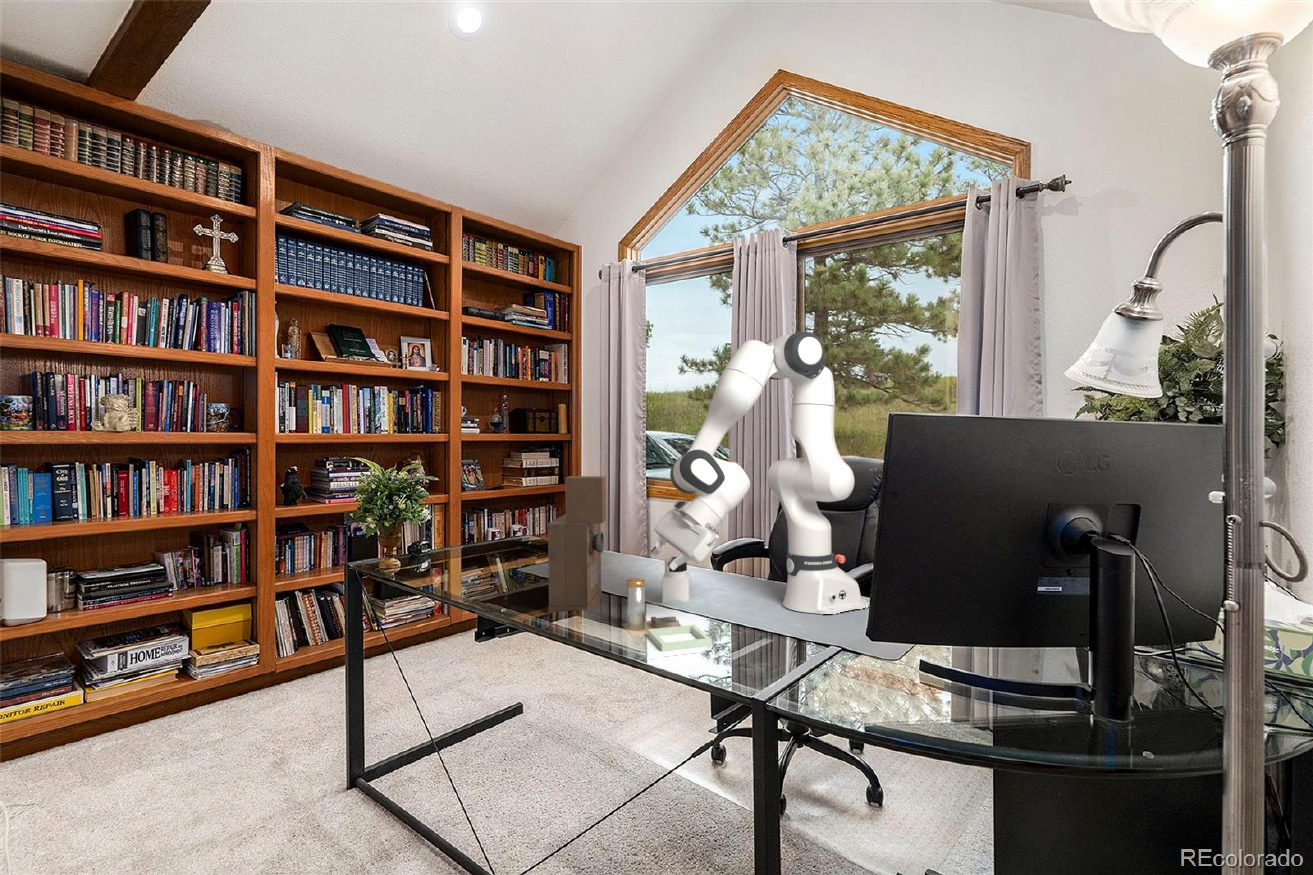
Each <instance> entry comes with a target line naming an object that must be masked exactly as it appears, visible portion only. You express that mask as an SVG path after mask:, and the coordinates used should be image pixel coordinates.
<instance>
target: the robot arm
mask: <svg viewBox="0 0 1313 875" xmlns="http://www.w3.org/2000/svg"><path fill="white" fill-rule="evenodd" d="M825 356H826V353H825V348H824V345H823V342H822V341H821V339H820V337H819V336H817V335H816V334H815V333H812V332H809V331H797V332H794V333H789V334H785V335H781V336H779V337H778V338H775V339H773V340H768V341H767V342H763V341H761V340H758V339H749V340H746V341H744V342H742V343H741V344H740V346H739V347H738V348H737V350H735V352H734V354H733V355H732V356H731V358H730V359H729V361H728V362H727V364H726V366H725V368H724V370H723V371H722V373H721V375H720V378H719V379H718V382H717V384H716V387H715V390H714V393H713V396H712V400H711V403H710V407H709V409H708V412H707V415H706V418H705V419H704V422H703V424H702V426H701V427H700V429H699V431H698V433H697V435H696V436H695V438H694V440H693V442H692V444H691V446H690V447H689V449H688V450H687V451H686V452H685V453H684V454H683V455H681V456H680V457H679V458H677V459H676V460H675V461H674V462H673V464H672V465H671V467H670V472H669V474H670V475H669V477H670V478H669V479H670V481H671V483H672V486H674V488H675V489H676V490H677V491H679V492H680V493H682V494H687V495H694V494H696V496H695V497H694V498H693V499H692V500H677V501H675V503H674V504H673V506H672V509H670V510H668V511H667V512H666V513H665V514H664V515H663V516H662V517H661V519H659V521H658V522H657V523H656V524H655V527H654V532H655V533H656V534H657V535H658V537H656V540H655V542H654V544H653V546H652V547H651V548H650V550H649V552H650V553H651V554H652V556H655V557H657V556H658V555H660V554H661V552H662V551H661V549H662V547H663V546H664V545H666V544H669V545H670V546H672V547H673V548H675V549H676V550H678V552H679V554H678V556H676V557H677V558H675V559H674V560H673V559H671V560H670V561H669V562H668V563H667V565H668V566H669V567H670V568H671V569H672V570H675V569H676V568H677V567H678V566H679V565H681V564H683V563H686V562H688V561H689V560H691V561H692V562H694V563H695V564H699V563H701V562H702V561H704V559H705V558H706V557H707V556H708V555H709V554H710V552H711V551H712V549H713V547H714V546H715V545H716V541H718V539H719V532H720V531H719V529H718V527H719V526H720V525H721V523H723V521H724V520H725V519H724V518H725V517H726V516H727V514H728V513H731V512H732V511H733V510H734V509H735V508H736V507H737V506H738V505H740V503H741V502H742V500H743V499H744V498H745V496H746V495H747V493H748V492H749V490H750V487H751V480H750V477H749V474H748V473H747V471H746V470H745V469H744V468H743V466H741V465H740V464H739V463H738V462H735V461H727V460H724V459H721V458H718V457H716V456H714V455H715V453H716V451H717V449H718V447H719V446H720V444H721V443H722V440H723V438H724V436H726V433H727V432H728V431H729V430H730V429H731V428H732V426H734V424H736V423H737V422H738V421H739V420H740V419H742V418H743V417H744V416H746V414H748V412H750V410H751V409H752V407H753V406H754V405H755V403H756V402H757V401H758V400H759V397H760V396H761V394H762V392H763V390H764V388H765V386H766V384H767V382H768V380H769V379H770V380H782V379H783V380H784V379H789V382H790V383H791V386H792V387H791V388H792V392H793V393H792V398H791V399H792V401H791V415H790V416H791V417H790V418H791V419H790V435H791V437H792V438H793V439H794V441H796V442H798V443H799V446H800V447H801V450H802V453H803V457H801V458H800V457H789V458H784V459H779V460H776V461H774V462H773V463H772V464H771V465H770V467H769V469H768V471H767V475H766V476H767V477H766V478H767V485H768V487H769V489H770V491H772V492H773V494H774V495H775V496H776V497H777V499H778V501H779V503H781V504H780V505H781V506H782V510H783V512H784V515H785V519H786V523H787V536H788V538H787V540H788V541H787V543H788V544H787V545H788V550H787V552H786V571H787V582H786V587H785V588H786V589H785V594H784V598H783V600H782V601H783V602H782V606H783V607H784V608H786V609H789V610H791V611H792V610H793V611H796V612H800V613H810V614H817V615H823V614H833V615H837V613H838V614H841V613H840V612H843V611H848V610H852V609H860V610H864V609H863V608H865V607H866V608H865V609H869V608H868V605H869V604H870V602H869V601H868V600H867V599H865V598H863V597H862V595H861V591H860V587H859V586H860V585H859V584H858V582H857V581H856V579H854V578H853V577H851V576H850V575H849V574H848V573H847V572H845V571H844V570H842V569H841V568H840V567H839V566H838V563H840V564H844V563H845V562H846V556H844V555H841V554H835V553H833V552H832V526H831V523H830V520H829V519H827V517H826V516H825V515H824V514H822V512H821V511H820V509H819V507H818V504H817V502H823V503H831V502H833V503H834V502H839V501H843V500H844V501H845V500H846V499H847V498H849V497H850V495H852V494H851V493H853V490H854V487H855V476H854V475H855V474H854V472H853V470H852V468H851V466H850V465H849V464H847V463H846V462H845V460H844V459H843V457H842V456H841V454H840V452H839V449H838V447H837V443H836V438H835V410H836V409H835V408H836V407H835V405H836V404H835V403H836V402H835V401H836V398H835V397H836V395H835V394H836V393H835V382H834V376H833V372H832V371H831V370H830V368H828V367H827V366H826V364H827V363H826V358H825Z"/></svg>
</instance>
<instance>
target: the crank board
mask: <svg viewBox="0 0 1313 875" xmlns="http://www.w3.org/2000/svg"><path fill="white" fill-rule="evenodd" d="M620 625H622V626H623V628H624V629H625V630H626V632H627V633H628V634H629V635H630V637H634V636H635V637H636V636H648V629H657V628H667V627H677V626H682V624H681V623H680V621H679V620H678V619H677V617H676V616H675V615H674V616H663V617H656V616H651V617H650V620H645V629H644V630H641V631H631V630H628V622H622V623H621V622H620Z"/></svg>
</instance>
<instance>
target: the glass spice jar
mask: <svg viewBox="0 0 1313 875" xmlns="http://www.w3.org/2000/svg"><path fill="white" fill-rule="evenodd" d="M626 584H627V585H626V587H627V589H626V590H627V623H628V630H631V631H641V630H644V629H645V621H646V594H645V592H646V588H645V586H646V585H645V584H646V582H645V579H644V578H641V577H632V578H628V579H627V583H626Z"/></svg>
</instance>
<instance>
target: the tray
mask: <svg viewBox="0 0 1313 875" xmlns="http://www.w3.org/2000/svg"><path fill="white" fill-rule="evenodd" d="M683 634H692V635H694V636H695V637H696V639H688V640H679V641H669V642H665V641H664V640H663V639H662V638H661V637H664V636H673V635H683ZM647 637H648V638H649V639H650V640H651V641H652V642H653V644H655V646H656V647H657V648H658V649H659V651H661V652H662V653H663V652H670V651H679V650H688V649H689V650H690V649H696V648H697V649H698V648H707V647H712V646H713V641H712V640H713V639H712V638H711V637H710V636H708V635H707V634H706V633H705V632H703V631H702V630H701V629H700V628H699V627H697V626H696V625H695V624H688V625H687V624H686V625H681V626H677V627H667V628H657V629H648V634H647ZM709 652H710V653H711V652H712V650H711V651H708V653H709ZM693 654H696V652H693V653H691V655H693ZM700 654H704V651H702V652H700ZM686 655H687V653H686V654H685V653H684V654H682V656H686ZM676 656H678V655H677V654H675V655H673V657H676ZM666 657H667V658H668V657H669V655H667V656H664V658H666Z"/></svg>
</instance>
